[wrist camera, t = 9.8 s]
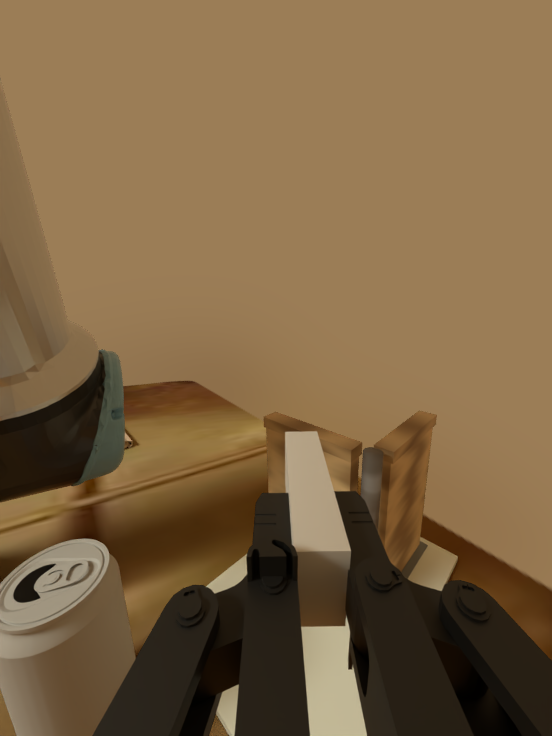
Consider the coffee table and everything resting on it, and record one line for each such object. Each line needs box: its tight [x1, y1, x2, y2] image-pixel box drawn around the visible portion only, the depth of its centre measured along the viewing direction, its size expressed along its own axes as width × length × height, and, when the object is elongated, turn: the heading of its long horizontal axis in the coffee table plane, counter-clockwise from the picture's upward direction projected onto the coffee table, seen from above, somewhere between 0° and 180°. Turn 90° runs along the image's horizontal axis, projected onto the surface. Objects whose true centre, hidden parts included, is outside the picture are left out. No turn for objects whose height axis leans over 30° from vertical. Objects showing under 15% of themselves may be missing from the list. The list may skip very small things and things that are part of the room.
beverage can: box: [0, 539, 136, 736], centre depth 19 cm, size 6×6×12 cm
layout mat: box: [206, 537, 458, 736], centre depth 29 cm, size 16×24×1 cm, turn 135°
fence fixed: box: [374, 411, 437, 572], centre depth 28 cm, size 9×2×15 cm, turn 135°
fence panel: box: [264, 412, 383, 531], centre depth 27 cm, size 11×2×15 cm, turn 46°
